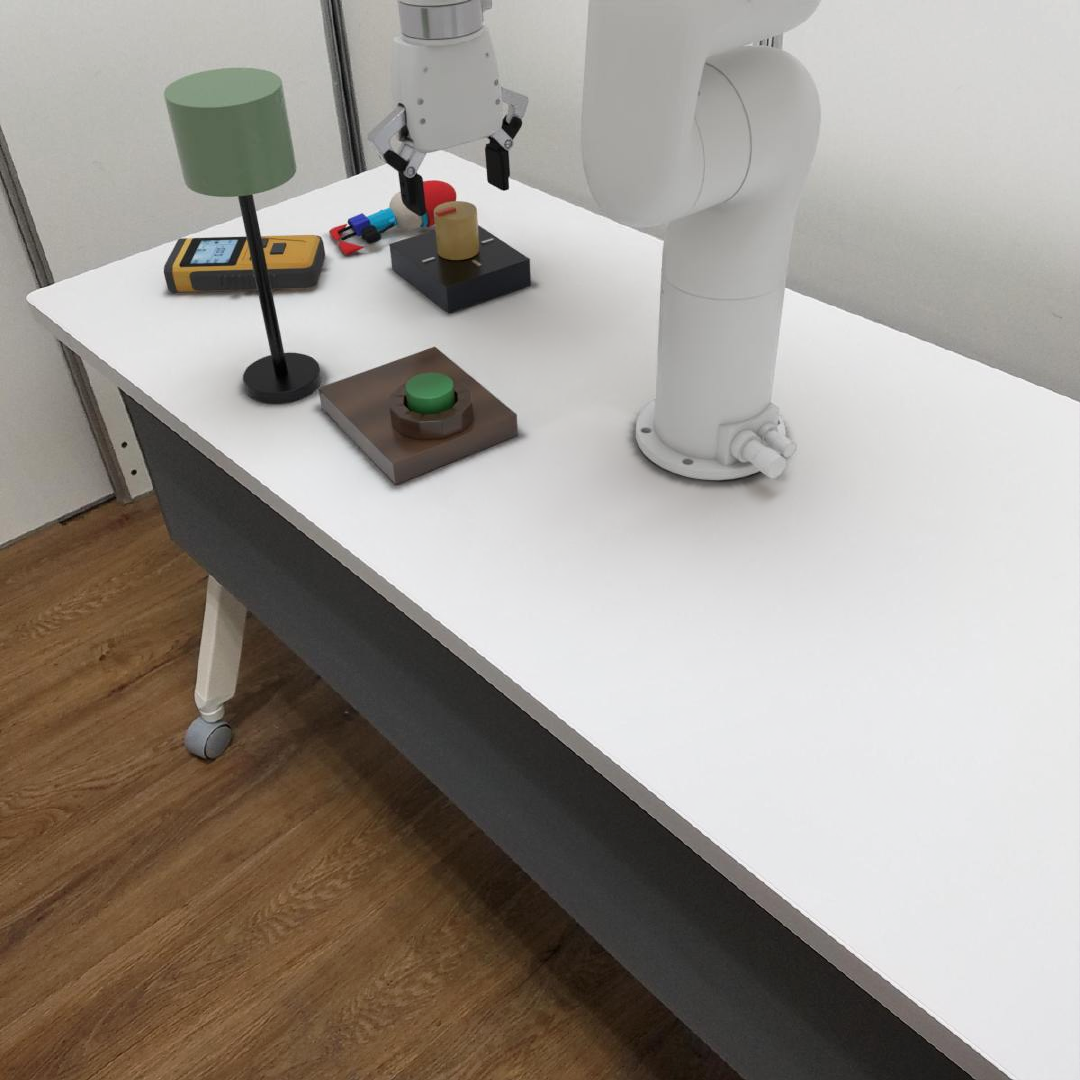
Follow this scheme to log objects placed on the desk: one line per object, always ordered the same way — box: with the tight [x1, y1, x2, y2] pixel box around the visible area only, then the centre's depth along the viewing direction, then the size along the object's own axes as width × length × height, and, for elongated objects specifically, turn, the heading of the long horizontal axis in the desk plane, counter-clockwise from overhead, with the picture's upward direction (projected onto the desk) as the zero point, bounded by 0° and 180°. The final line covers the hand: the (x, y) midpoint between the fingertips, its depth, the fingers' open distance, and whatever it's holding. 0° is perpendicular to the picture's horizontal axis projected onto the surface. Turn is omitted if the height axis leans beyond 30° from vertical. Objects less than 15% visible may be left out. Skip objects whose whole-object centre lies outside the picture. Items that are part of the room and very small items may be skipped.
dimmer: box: [434, 200, 479, 260], centre depth 117 cm, size 4×4×5 cm
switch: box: [405, 373, 455, 414], centre depth 95 cm, size 4×4×2 cm
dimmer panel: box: [388, 224, 532, 314], centre depth 119 cm, size 12×10×3 cm
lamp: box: [163, 67, 322, 405], centre depth 97 cm, size 9×9×27 cm
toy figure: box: [328, 179, 458, 256], centre depth 128 cm, size 8×5×15 cm
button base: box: [317, 346, 519, 485], centre depth 99 cm, size 14×12×4 cm
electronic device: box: [163, 234, 326, 293], centre depth 121 cm, size 8×16×3 cm, turn 90°
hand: (457, 198), depth 114 cm, fingers open, 9 cm apart
